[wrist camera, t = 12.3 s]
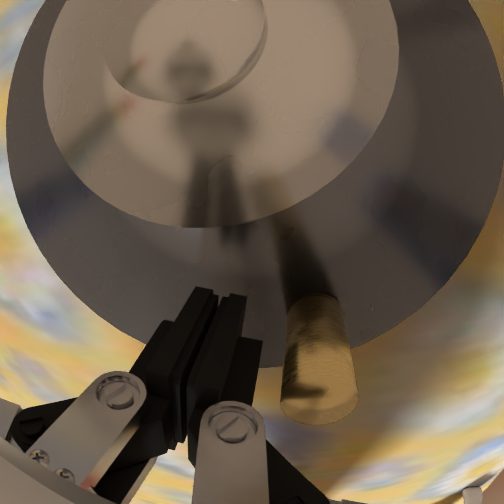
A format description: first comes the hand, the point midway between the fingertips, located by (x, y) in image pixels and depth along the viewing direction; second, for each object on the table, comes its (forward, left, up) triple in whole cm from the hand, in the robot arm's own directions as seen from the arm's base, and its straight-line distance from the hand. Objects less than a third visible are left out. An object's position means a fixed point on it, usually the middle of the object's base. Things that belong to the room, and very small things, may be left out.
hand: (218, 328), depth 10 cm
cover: (+4, -7, -1) cm, 8 cm away
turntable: (+4, -6, -3) cm, 8 cm away
